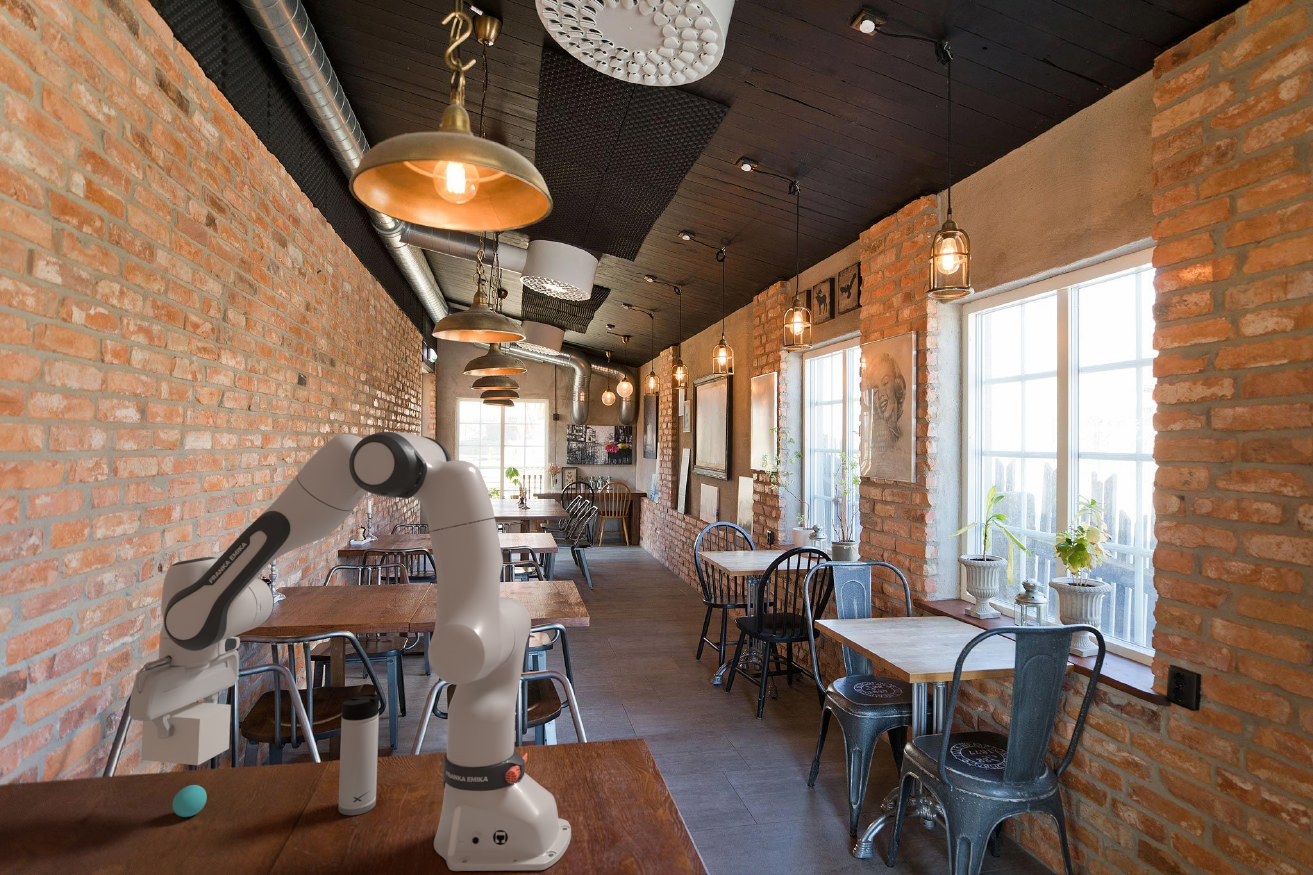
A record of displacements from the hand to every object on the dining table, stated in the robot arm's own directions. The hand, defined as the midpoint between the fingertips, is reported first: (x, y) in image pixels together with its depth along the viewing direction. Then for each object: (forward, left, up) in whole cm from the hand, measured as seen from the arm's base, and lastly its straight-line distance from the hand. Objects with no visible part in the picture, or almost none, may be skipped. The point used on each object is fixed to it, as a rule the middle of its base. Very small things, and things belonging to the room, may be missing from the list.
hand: (185, 728), depth 123 cm
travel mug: (-29, -8, -15) cm, 33 cm away
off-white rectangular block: (0, 0, -5) cm, 5 cm away
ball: (-1, 0, -13) cm, 13 cm away
